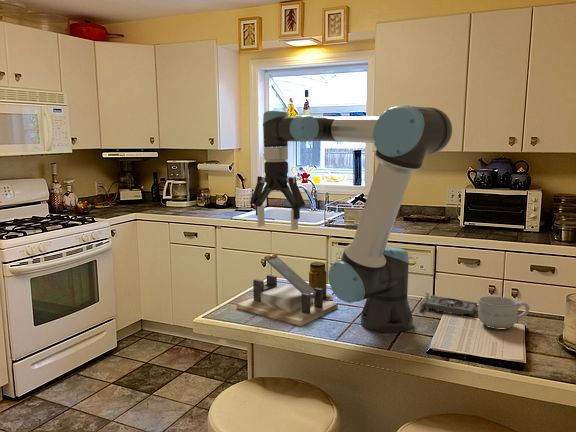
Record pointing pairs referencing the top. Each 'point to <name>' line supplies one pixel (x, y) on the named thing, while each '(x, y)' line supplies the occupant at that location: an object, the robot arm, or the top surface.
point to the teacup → (500, 311)
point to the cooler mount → (285, 302)
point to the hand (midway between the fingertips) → (277, 227)
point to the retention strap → (290, 275)
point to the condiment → (319, 278)
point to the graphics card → (448, 305)
